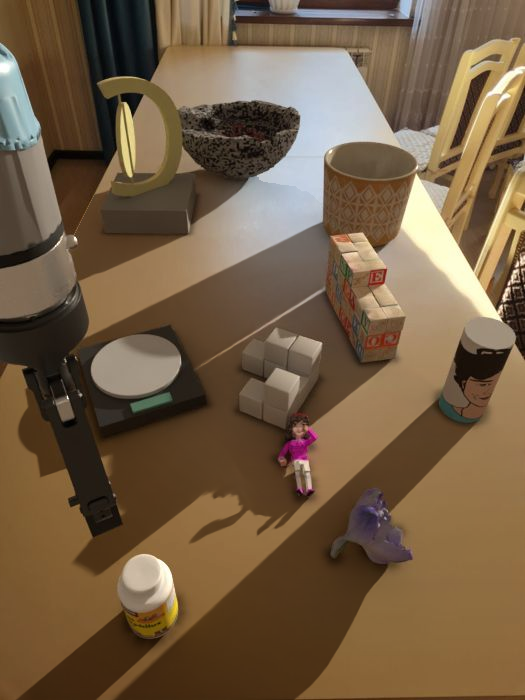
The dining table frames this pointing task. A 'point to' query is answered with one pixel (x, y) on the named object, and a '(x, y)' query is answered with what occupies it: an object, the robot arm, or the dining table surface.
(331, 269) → the stack of blocks
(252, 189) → the dining table surface
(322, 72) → the dining table surface
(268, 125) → the bowl
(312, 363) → the white cube cluster
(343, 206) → the planter
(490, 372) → the illustrated cylindrical canister
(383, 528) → the flower
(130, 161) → the trophy
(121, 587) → the supplement bottle
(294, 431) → the character figurine
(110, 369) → the kitchen scale
